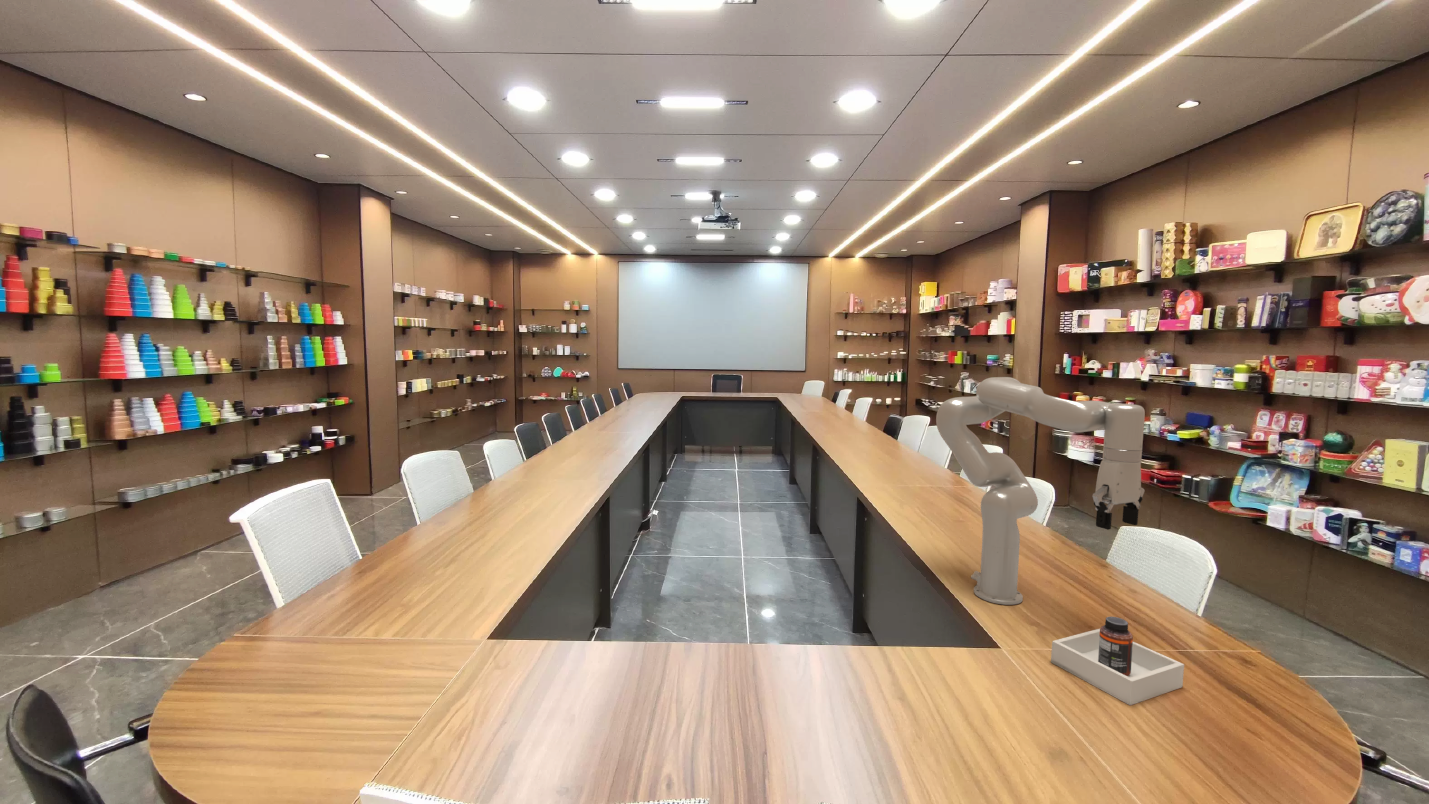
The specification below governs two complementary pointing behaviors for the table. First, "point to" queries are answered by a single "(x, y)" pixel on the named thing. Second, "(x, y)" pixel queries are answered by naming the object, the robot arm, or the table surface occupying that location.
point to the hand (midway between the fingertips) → (1116, 525)
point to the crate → (1144, 682)
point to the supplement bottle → (1116, 645)
